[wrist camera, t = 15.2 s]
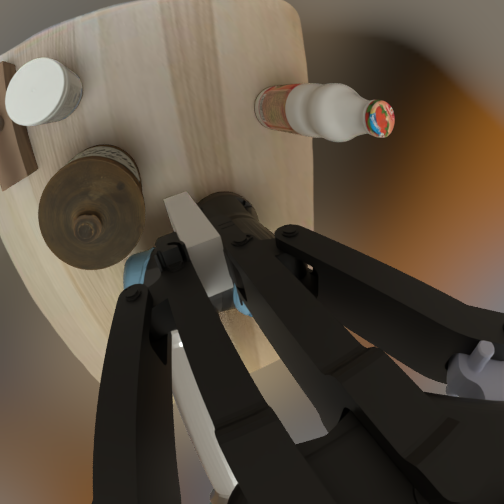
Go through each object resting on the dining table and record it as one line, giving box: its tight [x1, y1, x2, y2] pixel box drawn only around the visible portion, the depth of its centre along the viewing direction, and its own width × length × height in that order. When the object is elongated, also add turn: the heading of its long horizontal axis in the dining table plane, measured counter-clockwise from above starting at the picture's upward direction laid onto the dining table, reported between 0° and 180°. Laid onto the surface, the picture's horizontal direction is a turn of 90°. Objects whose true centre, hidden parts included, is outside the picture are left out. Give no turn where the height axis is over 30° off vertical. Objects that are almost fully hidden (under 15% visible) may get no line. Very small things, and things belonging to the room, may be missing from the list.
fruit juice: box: [255, 83, 395, 142], centre depth 38 cm, size 9×9×28 cm
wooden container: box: [38, 145, 145, 270], centre depth 34 cm, size 15×15×22 cm
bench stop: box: [0, 61, 38, 191], centre depth 24 cm, size 6×22×10 cm, turn 10°
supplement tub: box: [5, 57, 82, 126], centre depth 25 cm, size 10×10×15 cm
